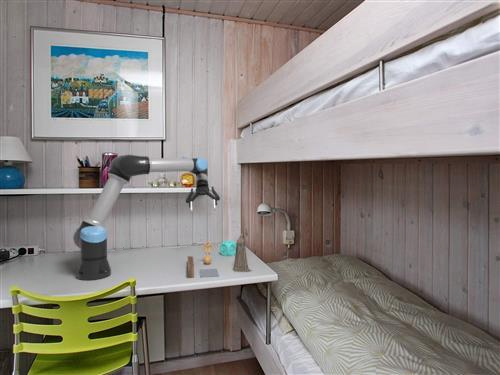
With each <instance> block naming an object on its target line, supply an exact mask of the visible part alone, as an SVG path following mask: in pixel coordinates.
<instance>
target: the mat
mask: <svg viewBox="0 0 500 375" xmlns="http://www.w3.org/2000/svg"><path fill="white" fill-rule="evenodd" d="M199 275H200V278H211V277H212V278H213V277H220V275H219V272H218V269H217V268H207V269H206V268H205V269H199Z"/></svg>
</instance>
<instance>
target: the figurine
mask: <svg viewBox="0 0 500 375" xmlns="http://www.w3.org/2000/svg"><path fill="white" fill-rule="evenodd" d="M203 247H206V248H205V251H204V252H205V258H204V260H203V262H204V264H205V265H210V264H211V263H212V258H211V256H210V254H211V248H210V247H213V249H214V251H216V248H215V245H213V244H211V243H209V242H208V241H207V242H206V243H204V244H202V246H201V247H200V252H201V251H202V249H203Z"/></svg>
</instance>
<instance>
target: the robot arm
mask: <svg viewBox="0 0 500 375" xmlns="http://www.w3.org/2000/svg"><path fill="white" fill-rule="evenodd" d="M208 167H209V164H208V160H207V159H206V158H203V157H197V158H196V157H195V158H194V157H193V158H191V157H190V158H189V157H186V156H182V157H181V158H176V157H175V158H171V157H167V158H163V157H162V158H161V157H157V158H155V157H153V158H152V157H151V158H150V157H149V156H148V155H147V156H143V155H142V156H141V155H134V154H122V155H118V156H116V157H114V158H113V159H112V161H111V163H110V167H109V168H110V169H109V170H108V172H107V175H108V179H107V181H106V183H105V184H104V186H103V188H102V190H101V192H100V195H99V196H98V198H97V200H96V202H95V203H94V206H93V208H92V210H91V211H90V213H89V215H88V217H87V218H85V219H83V220H82V222H81V224H80V226H78V227H77V228H76V229H75V231H74V233H73V234H72V235H73V236H72V238H73V242H74V244H75V246H77V247H78V248H79V249H80V262H79V266H78V269H77V273H76V278H77V279H78V280H81V281H94V280H95V281H96V280H101V279H104V278H105V279H106V278H107V277H109V276H111V275H112V267H111V265H110V263H109V259H108V232H107V229H106V227H105V223H106V221H107V219H108V218H109V215H110V213H111V211H112V209H113V208H114V206H115V203H116V201H117V200H118V198H119V196H120V194H121V191H122V190H123V188H124V186H125V185H127V184H129V183H130V180H132V177H135V176H137V177H138V176H141V175H149V174H150V173H171V172H188V173H191V174H192V175H193V174H194V175H195V188H191V189H190V192H189V193H188V195H187V197H186V199H185V204H188V208H189V209H190V213H191V214H193V212H194V211H193V210H194V207H193V202H195V200H196V199H197V198H198V197H199V196H200V197H201V196H207V197H209V198H211V199H212V200H213V209H214V211H215V212H216V211H217V208H216V206H218V201H220V199H221V198H220V195H219V194H218V193H217V191H216V190H215V188H214V186H211V187H209V174H208V173H209V172H208ZM211 192H212V193H211Z"/></svg>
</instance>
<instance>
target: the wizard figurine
mask: <svg viewBox="0 0 500 375" xmlns="http://www.w3.org/2000/svg"><path fill="white" fill-rule="evenodd" d="M242 229H243V230H242V233H240V235H239V236H238V238H237V240H236V242H235V243H236V254H235V255H234V262H233V268H232V271H233V272H236V273H247V272H252V269H250V268H249V264H248V258H247V257H248V256H247V250H246V239H245V238H246V237H247V236H249V232H248V231H247V230H248V229H247V224H246V222H244V225H243V228H242Z"/></svg>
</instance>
